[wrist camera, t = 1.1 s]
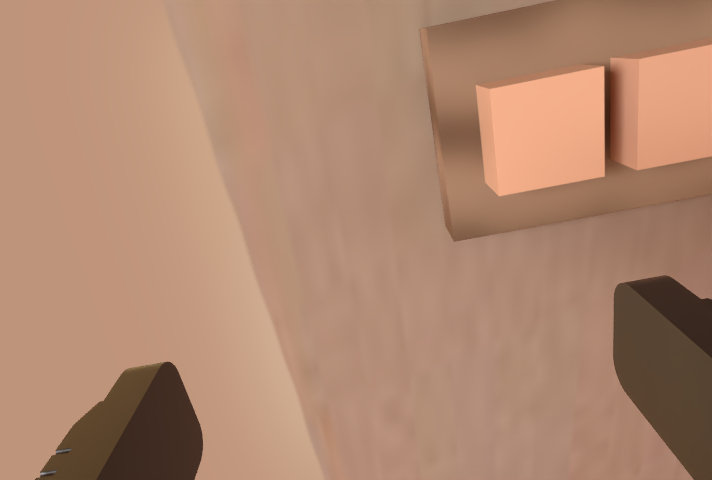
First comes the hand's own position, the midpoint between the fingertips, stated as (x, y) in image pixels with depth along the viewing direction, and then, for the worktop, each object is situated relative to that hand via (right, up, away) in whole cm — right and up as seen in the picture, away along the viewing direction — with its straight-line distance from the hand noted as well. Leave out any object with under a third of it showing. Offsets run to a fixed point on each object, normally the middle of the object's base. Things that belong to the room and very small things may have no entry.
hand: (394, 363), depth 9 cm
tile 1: (+8, +8, +16) cm, 19 cm away
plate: (+12, +10, +18) cm, 24 cm away
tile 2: (+14, +9, +15) cm, 23 cm away
